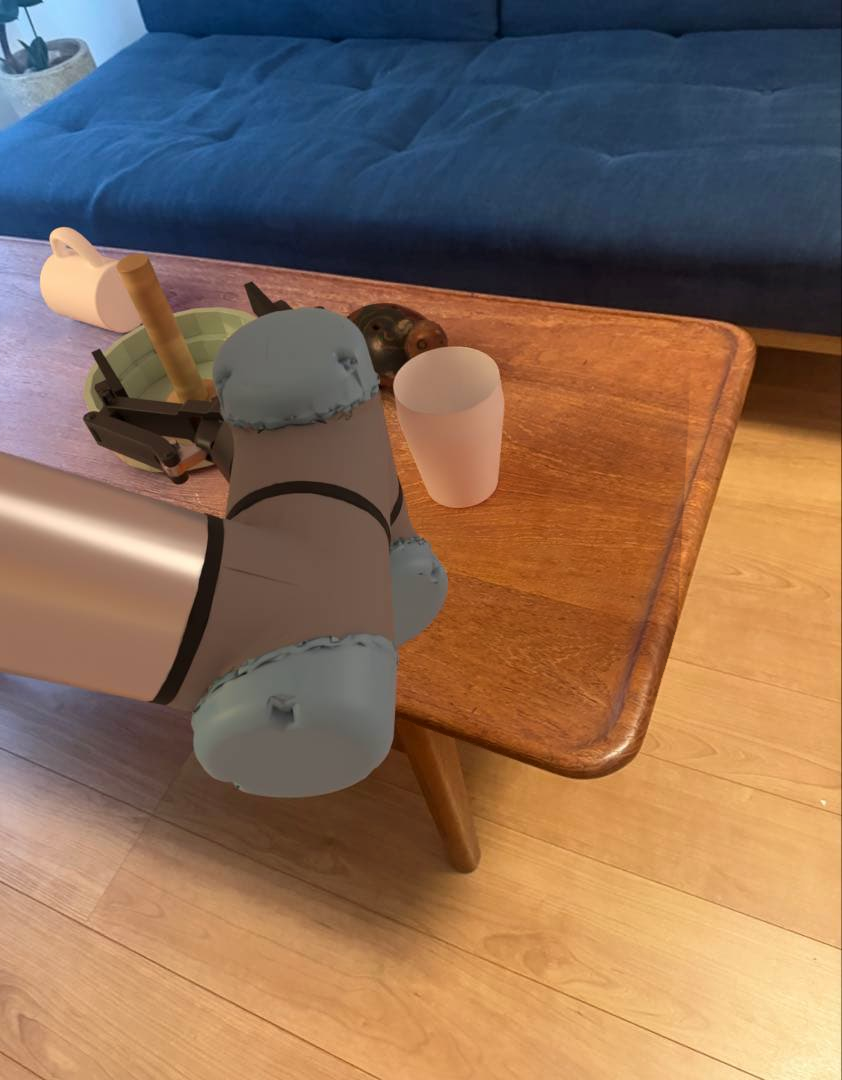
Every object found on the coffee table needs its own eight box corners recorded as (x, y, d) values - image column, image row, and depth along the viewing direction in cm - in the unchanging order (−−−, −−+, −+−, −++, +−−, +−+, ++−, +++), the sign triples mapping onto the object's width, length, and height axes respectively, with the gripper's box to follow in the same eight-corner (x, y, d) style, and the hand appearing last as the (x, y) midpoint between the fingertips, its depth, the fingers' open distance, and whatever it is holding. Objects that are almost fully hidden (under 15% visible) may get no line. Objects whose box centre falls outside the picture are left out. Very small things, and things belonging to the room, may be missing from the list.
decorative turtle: (439, 417, 82) (420, 354, 76) (316, 397, 88) (290, 337, 82) (478, 355, 86) (464, 290, 80) (359, 340, 93) (337, 279, 87)
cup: (403, 515, 74) (378, 413, 65) (426, 446, 79) (406, 343, 70) (501, 523, 71) (490, 419, 62) (518, 451, 77) (510, 346, 68)
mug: (115, 346, 99) (68, 256, 90) (60, 329, 103) (10, 242, 94) (161, 308, 103) (121, 219, 94) (106, 293, 107) (63, 206, 98)
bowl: (103, 496, 81) (72, 448, 77) (119, 378, 94) (94, 330, 90) (295, 453, 81) (276, 402, 76) (284, 340, 94) (268, 291, 89)
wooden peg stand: (168, 432, 85) (94, 288, 72) (170, 395, 89) (101, 252, 76) (227, 419, 85) (164, 272, 72) (227, 382, 89) (167, 237, 76)
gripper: (136, 592, 55) (58, 429, 68) (447, 427, 61) (320, 307, 74) (86, 517, 49) (11, 355, 62) (434, 344, 55) (299, 230, 68)
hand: (179, 329), depth 68 cm, fingers open, 13 cm apart
